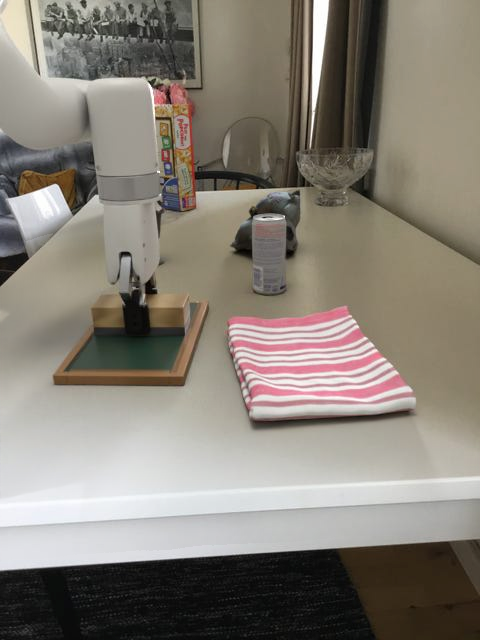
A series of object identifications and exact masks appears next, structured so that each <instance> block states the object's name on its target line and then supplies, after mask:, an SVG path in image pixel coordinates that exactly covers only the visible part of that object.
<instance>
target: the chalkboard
mask: <svg viewBox="0 0 480 640" xmlns="http://www.w3.org/2000/svg"><path fill="white" fill-rule="evenodd" d="M189 305H190V320H191V321H190V324H189V326H188V329H187V332H186V335H185V336H95V334H94V327H93V324H92V325H91V326H90V327H89V329H88V330H87V331H86V333H85V334H84V335H83V336H82V337H81V339H80V340H79V342H78V343H76V345H75V346H74V347H73V349H72V350H71V352H70V353H69V354H68V356H67V357H66V358H65V359H64V360H63V362H62V363H61V364H60V365H59V367H58V368H57V369H56V370H55V372H54V373H53V375H52V378H53V379H52V380H53V385H74V386H75V385H76V386H77V385H80V386H81V385H83V386H85V385H86V386H87V385H90V386H91V385H93V386H95V385H96V386H175V387H177V386H182V387H183V386H185V383H186V379H187V376H188V374H189V370H190V367H191V364H192V362H193V358H194V355H195V352H196V349H197V347H198V343H199V340H200V337H201V334H202V330H203V327H204V324H205V321H206V318H207V315H208V312H209V310H210V301H209V300H189Z"/></svg>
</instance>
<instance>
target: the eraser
mask: <svg viewBox="0 0 480 640" xmlns="http://www.w3.org/2000/svg"><path fill="white" fill-rule="evenodd" d="M138 295H139V294H138ZM189 301H190V294H188V293H159V294H145V305H148V308H149V319H150V329H151V332H150V334H148V335H127V334H126V333H125V325H124V316H123V307H122V298H121V296H120V294H119V293H118V294H101V295H100V296H99V297H98V299H97V300H96V301H95V302H94V303H93V304H92V306H91V307H90V312H91V318H92V325H93V327H94V334H95V336H185V335H186V332H187V329H188V326H189V324H190V321H191V320H190V305H189Z"/></svg>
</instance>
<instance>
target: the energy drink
mask: <svg viewBox="0 0 480 640" xmlns="http://www.w3.org/2000/svg"><path fill="white" fill-rule="evenodd" d="M251 250H252V251H251V252H252V253H251V255H252V289H253V291H254V292H255V293H256V294H259V295H263V296H264V295H265V296H274V295H280V294H283V292H285V290H286V289H287V252H286V220H285V216H283V215H280V214H260V215H256V216H254V217H253V221H252V248H251Z"/></svg>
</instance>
